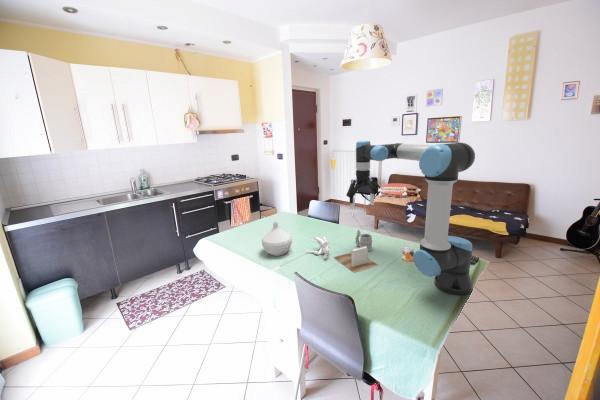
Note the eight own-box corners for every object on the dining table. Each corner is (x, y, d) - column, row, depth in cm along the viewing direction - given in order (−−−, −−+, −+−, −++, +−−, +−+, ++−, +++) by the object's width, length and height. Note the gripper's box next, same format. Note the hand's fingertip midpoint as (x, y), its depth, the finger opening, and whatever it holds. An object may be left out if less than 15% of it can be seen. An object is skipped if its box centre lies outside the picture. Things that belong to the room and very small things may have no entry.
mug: (366, 255, 161) (366, 235, 158) (351, 248, 170) (351, 230, 167) (375, 251, 165) (375, 232, 162) (360, 245, 174) (360, 227, 171)
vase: (298, 250, 171) (297, 221, 166) (276, 262, 158) (274, 230, 153) (278, 243, 183) (276, 215, 178) (256, 253, 170) (253, 223, 165)
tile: (367, 262, 150) (367, 247, 147) (353, 266, 146) (353, 251, 144) (365, 261, 151) (365, 246, 149) (351, 265, 148) (351, 249, 145)
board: (378, 267, 147) (378, 265, 146) (353, 275, 140) (353, 272, 140) (356, 252, 164) (356, 251, 164) (332, 259, 158) (332, 257, 158)
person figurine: (304, 235, 167) (326, 237, 153) (320, 233, 175) (341, 236, 161) (304, 256, 167) (326, 261, 153) (320, 254, 175) (341, 259, 161)
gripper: (376, 166, 161) (375, 201, 166) (339, 171, 151) (340, 208, 156) (385, 167, 154) (384, 204, 160) (347, 172, 144) (347, 212, 150)
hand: (362, 206), depth 158 cm, fingers open, 13 cm apart
